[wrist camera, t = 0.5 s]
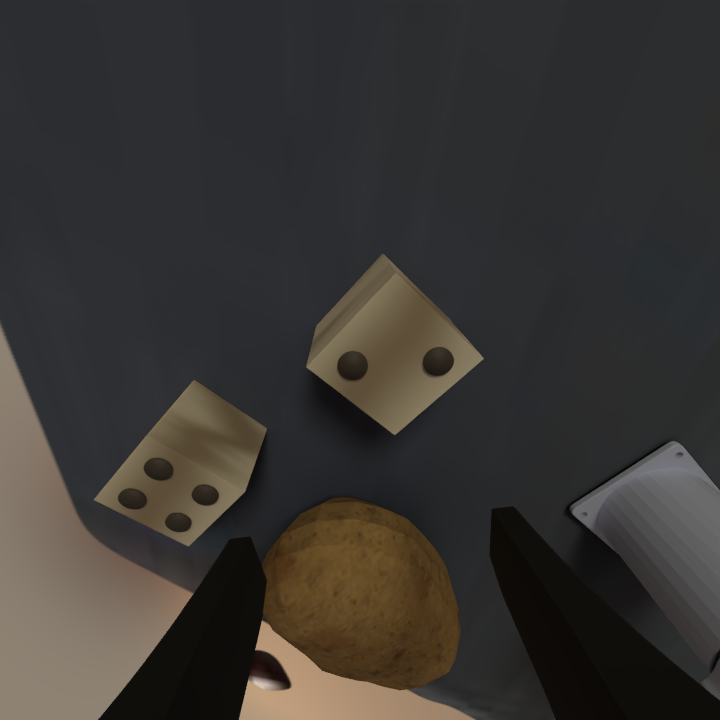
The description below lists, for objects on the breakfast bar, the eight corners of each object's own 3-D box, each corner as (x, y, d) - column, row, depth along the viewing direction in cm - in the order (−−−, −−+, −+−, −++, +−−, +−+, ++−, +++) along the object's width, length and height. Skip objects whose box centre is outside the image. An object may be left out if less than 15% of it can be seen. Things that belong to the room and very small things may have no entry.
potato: (377, 601, 28) (388, 739, 21) (244, 513, 23) (198, 652, 16) (476, 544, 26) (526, 680, 18) (348, 433, 21) (349, 556, 14)
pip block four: (267, 427, 21) (244, 494, 16) (220, 475, 22) (187, 549, 17) (194, 379, 19) (145, 437, 14) (149, 433, 21) (91, 502, 16)
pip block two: (449, 319, 18) (485, 360, 13) (383, 381, 20) (395, 437, 15) (382, 253, 17) (396, 273, 12) (316, 325, 18) (305, 368, 13)
